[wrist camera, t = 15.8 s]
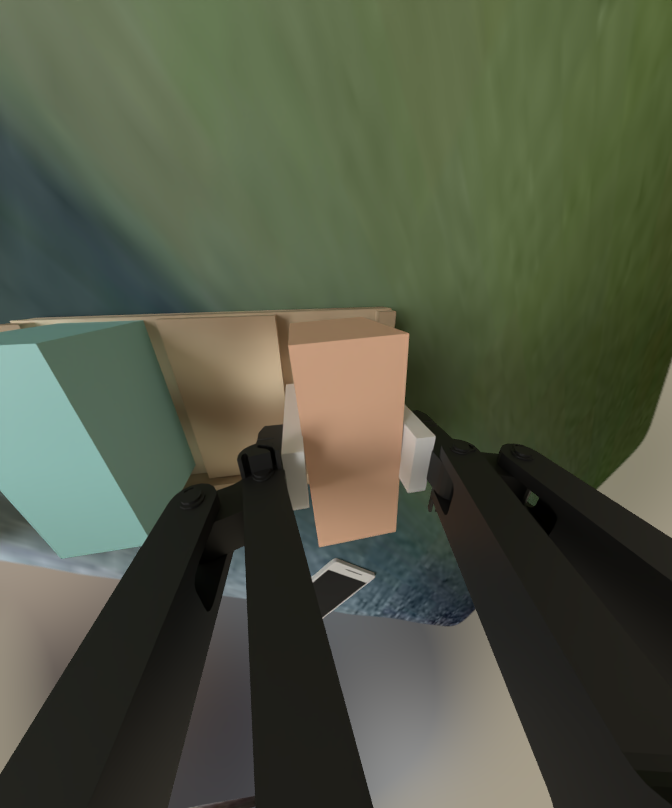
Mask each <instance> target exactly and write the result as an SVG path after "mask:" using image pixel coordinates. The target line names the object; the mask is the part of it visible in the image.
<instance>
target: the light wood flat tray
mask: <svg viewBox="0 0 672 808" xmlns="http://www.w3.org/2000/svg"><path fill="white" fill-rule="evenodd" d="M353 317H364V318H367V319H370V320H373V321H376V322H378V323H381V324H384V325H387V326H390V327H393V328H395V318H396V311H392V310H391V308H387V307H359V308H328V309H296V310H265V311H234V312H202V313H171V314H140V315H108V316H77V317H46V318H32V319H23V320H15V321H10V322H11V323H9V324H1V325H0V332H4V331H11V330H17V329H24V328H30V327H37V326H44V325H50V324H57V323H81V322H108V321H136V320H143V321H144V324H145V327H146V329H147V332H148V335H149V338H150V340H151V343H152V346H153V349H154V351H155V354H156V357H157V360H158V362H159V365H160V368H161V371H162V373H163V376H164V379H165V382H166V384H167V387H168V390H169V393H170V395H171V398H172V401H173V404H174V406H175V409H176V412H177V415H178V417H179V420H180V423H181V426H182V428H183V431H184V434H185V437H186V439H187V442H188V445H189V448H190V450H191V453H192V456H193V458H194V461H195V464H196V466H195V467H194V469H193V471H192V473H191V475H190V477H189V478H188V480H187V482H186V484H185V486H184V488H183V489H185V488H187V487H189V486H192V485H196V484H200V483H205V484H210V485H212V486H214V487H215V489H216V491H217V490H220V489H222V488H225V487H228V486H230V485H233V484H235V483H237V482H238V481H240V480H242V478H241V474H240V470H239V466H238V462H237V457H238V454H239V453H240V452H241V451H242V450H243V449H245V448H247V447H248V446H250V445H253V444H256V442H257V438H258V433H259V432H260V430H261V429H262V428H263V427H264V426H270V425H280V424H283V421H284V406H285V392H286V384H294V381H293V374H292V368H291V361H290V355H289V348H288V340H289V328H290V323H297V322H308V321H319V320H330V319H342V318H353ZM305 459H306V458H305ZM306 472H307V484H309V478H308V471H307V465H306ZM183 489H182V490H183Z"/></svg>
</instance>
